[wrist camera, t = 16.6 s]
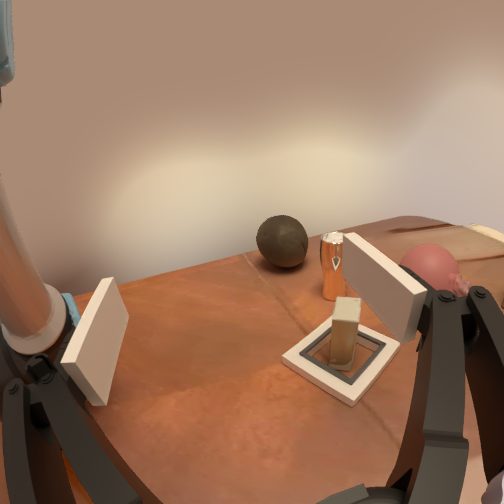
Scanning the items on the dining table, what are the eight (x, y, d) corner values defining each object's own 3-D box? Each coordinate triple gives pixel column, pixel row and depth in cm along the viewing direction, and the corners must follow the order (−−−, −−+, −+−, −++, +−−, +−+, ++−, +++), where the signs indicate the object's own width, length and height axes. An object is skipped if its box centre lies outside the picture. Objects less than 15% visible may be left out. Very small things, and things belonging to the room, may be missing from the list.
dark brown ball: (297, 251, 90) (294, 206, 83) (316, 270, 77) (315, 220, 71) (255, 260, 87) (249, 214, 81) (268, 282, 74) (262, 230, 68)
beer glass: (318, 301, 64) (318, 243, 58) (321, 285, 70) (321, 230, 64) (347, 303, 62) (350, 244, 55) (348, 286, 68) (350, 231, 61)
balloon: (437, 351, 42) (460, 284, 36) (378, 302, 60) (385, 242, 53) (474, 320, 46) (493, 260, 40) (419, 282, 64) (428, 228, 57)
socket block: (282, 362, 48) (281, 353, 47) (334, 320, 57) (335, 311, 56) (352, 407, 37) (354, 399, 36) (398, 350, 46) (401, 341, 45)
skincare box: (333, 345, 50) (336, 294, 45) (355, 348, 49) (362, 296, 44) (327, 370, 45) (331, 318, 40) (350, 373, 43) (359, 321, 38)
